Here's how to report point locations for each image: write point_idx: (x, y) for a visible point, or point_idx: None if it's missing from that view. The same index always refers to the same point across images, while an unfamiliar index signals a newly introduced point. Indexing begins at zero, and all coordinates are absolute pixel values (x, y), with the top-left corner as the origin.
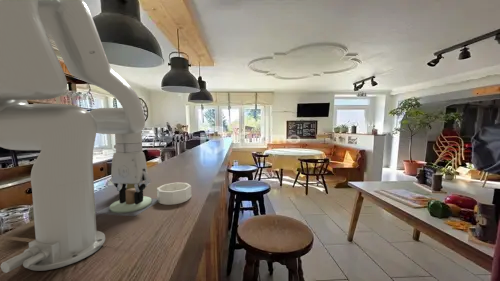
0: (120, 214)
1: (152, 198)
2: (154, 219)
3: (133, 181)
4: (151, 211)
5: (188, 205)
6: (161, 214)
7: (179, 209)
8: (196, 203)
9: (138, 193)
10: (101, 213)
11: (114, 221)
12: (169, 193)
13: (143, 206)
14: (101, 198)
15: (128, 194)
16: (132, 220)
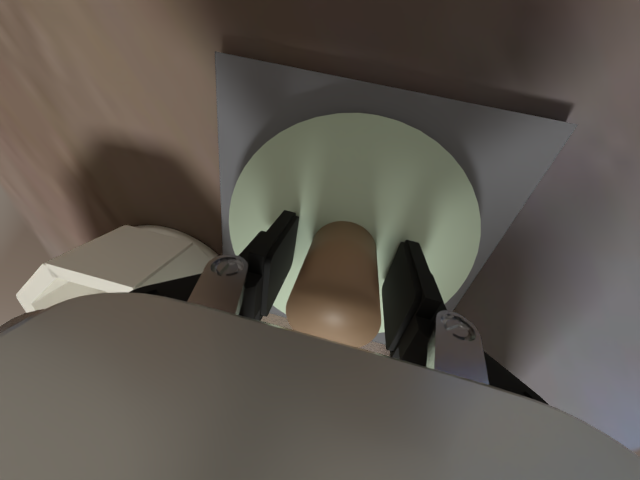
0: (339, 84)
1: (282, 315)
2: (93, 31)
3: (116, 326)
4: (195, 163)
5: (76, 224)
6: (112, 115)
7: (77, 179)
8: (62, 242)
9: (247, 260)
10: (506, 110)
11: None
12: (74, 261)
13: (237, 188)
14: (596, 377)
15: (335, 260)
16: (217, 9)
